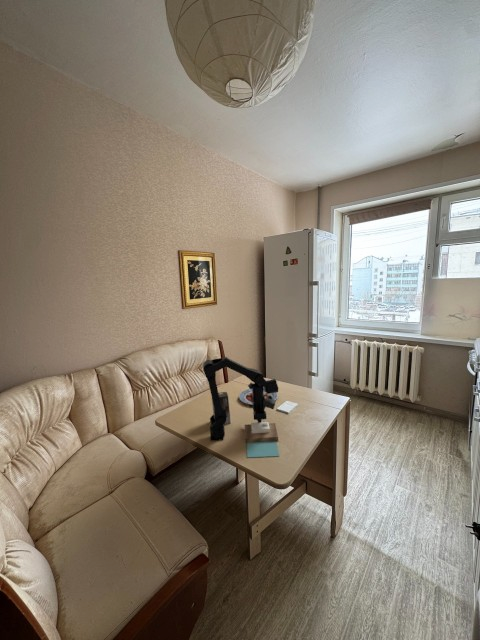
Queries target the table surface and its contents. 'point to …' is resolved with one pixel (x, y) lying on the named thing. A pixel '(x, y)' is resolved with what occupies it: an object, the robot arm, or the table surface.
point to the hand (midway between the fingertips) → (259, 423)
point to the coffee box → (225, 402)
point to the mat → (262, 449)
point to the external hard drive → (287, 407)
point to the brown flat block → (261, 434)
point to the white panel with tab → (260, 427)
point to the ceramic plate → (248, 396)
